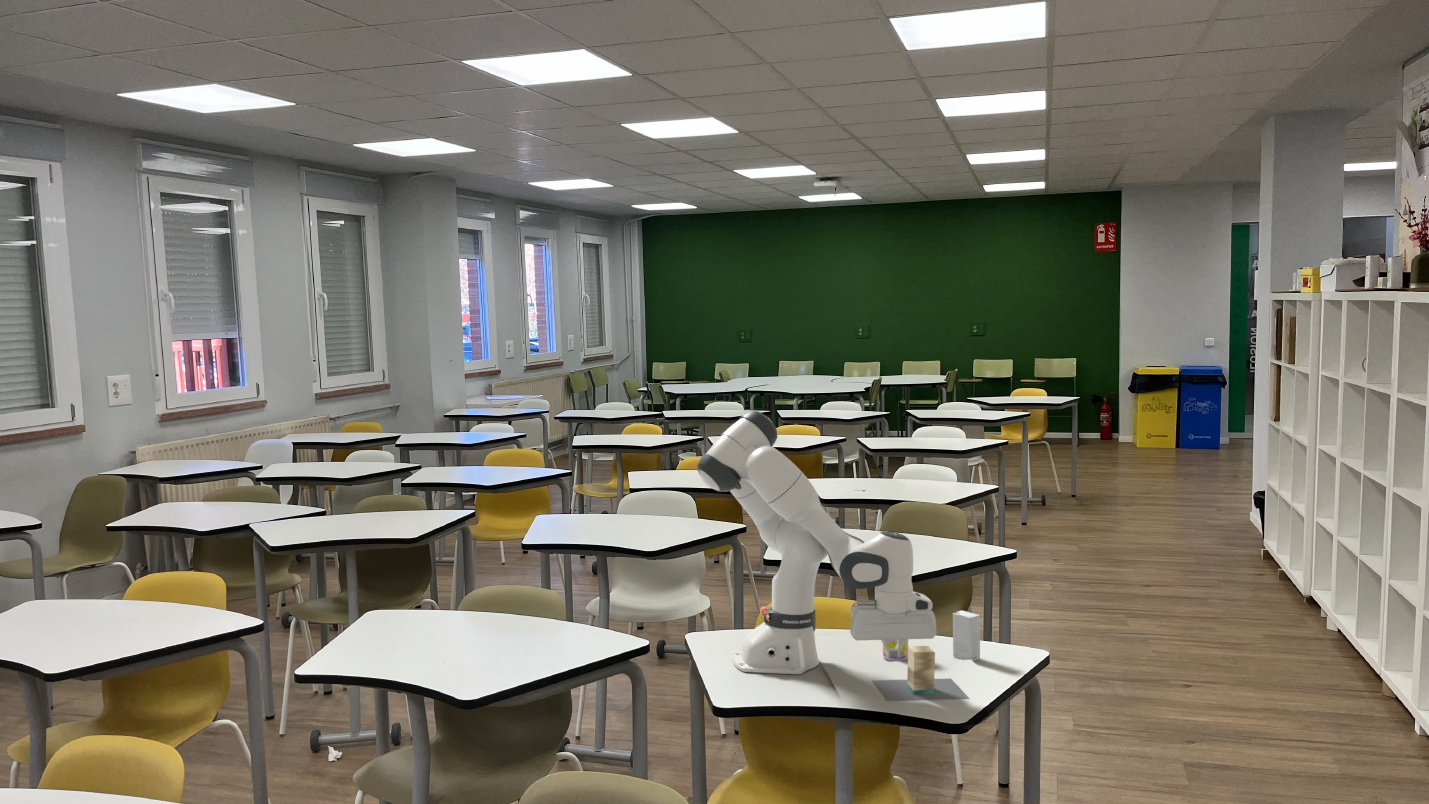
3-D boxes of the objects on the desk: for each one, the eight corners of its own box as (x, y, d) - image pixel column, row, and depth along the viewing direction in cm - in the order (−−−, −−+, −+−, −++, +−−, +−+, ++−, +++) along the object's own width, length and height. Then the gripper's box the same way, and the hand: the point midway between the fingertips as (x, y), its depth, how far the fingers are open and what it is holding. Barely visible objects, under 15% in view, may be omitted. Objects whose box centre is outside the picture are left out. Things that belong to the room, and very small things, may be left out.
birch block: (913, 694, 229) (914, 653, 228) (907, 686, 234) (908, 646, 233) (933, 693, 230) (935, 652, 229) (927, 685, 235) (928, 645, 234)
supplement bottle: (889, 652, 262) (890, 605, 260) (911, 657, 258) (913, 610, 257) (878, 659, 256) (879, 611, 255) (901, 664, 252) (902, 616, 251)
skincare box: (980, 659, 257) (982, 614, 256) (970, 663, 254) (971, 617, 253) (961, 653, 261) (962, 609, 261) (951, 656, 259) (952, 612, 258)
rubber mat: (886, 705, 225) (886, 700, 225) (872, 684, 238) (872, 680, 238) (969, 702, 227) (969, 698, 227) (950, 682, 240) (950, 678, 240)
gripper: (853, 604, 225) (852, 662, 226) (939, 602, 227) (937, 660, 228) (847, 597, 231) (846, 653, 233) (931, 595, 233) (929, 651, 234)
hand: (892, 656), depth 230 cm, fingers closed
